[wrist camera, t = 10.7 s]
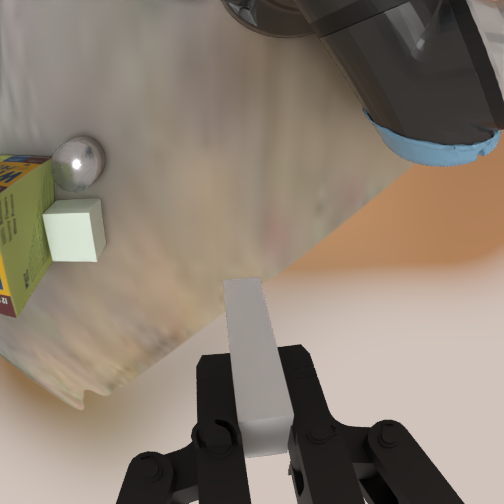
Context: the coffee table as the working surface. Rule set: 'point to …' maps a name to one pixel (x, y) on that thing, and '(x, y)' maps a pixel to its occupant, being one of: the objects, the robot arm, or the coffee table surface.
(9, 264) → the protein box
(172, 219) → the coffee table surface
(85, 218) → the sage block
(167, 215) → the coffee table surface
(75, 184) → the metal tin
